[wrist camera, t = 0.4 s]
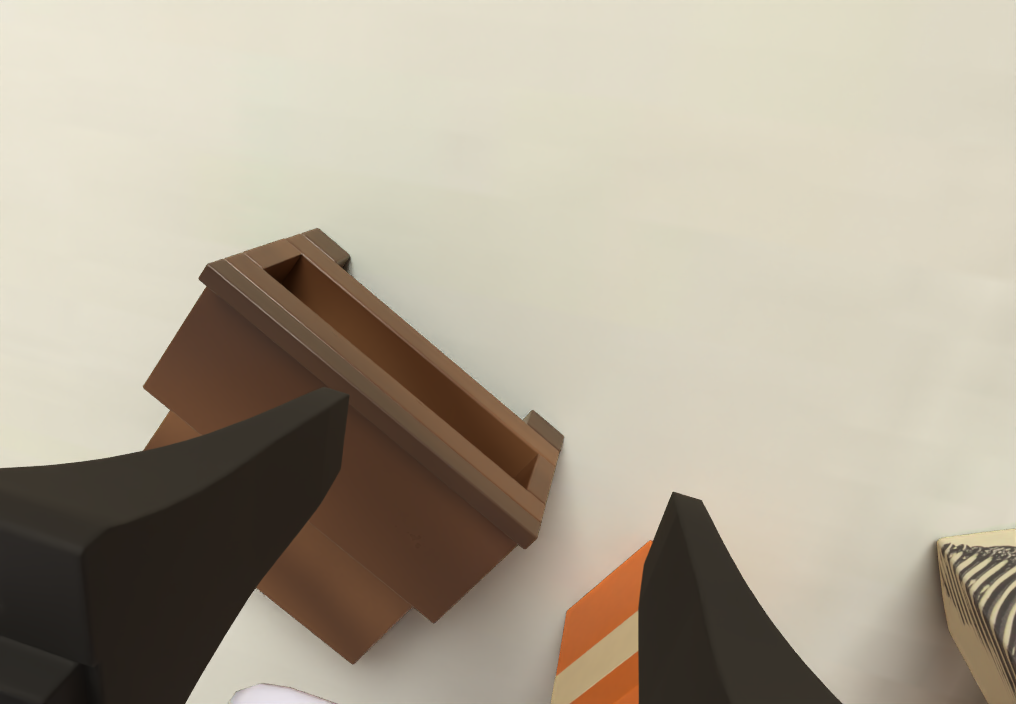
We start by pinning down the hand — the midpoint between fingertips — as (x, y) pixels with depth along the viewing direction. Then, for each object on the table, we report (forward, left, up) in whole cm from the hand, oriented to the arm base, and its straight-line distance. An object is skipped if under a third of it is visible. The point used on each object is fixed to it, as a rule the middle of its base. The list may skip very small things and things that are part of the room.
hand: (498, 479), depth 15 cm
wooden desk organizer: (-9, +3, -11) cm, 15 cm away
